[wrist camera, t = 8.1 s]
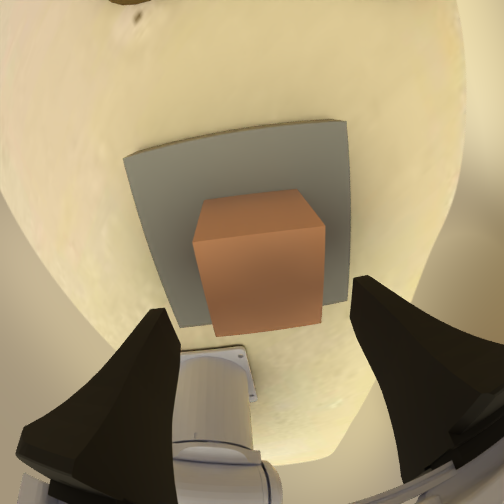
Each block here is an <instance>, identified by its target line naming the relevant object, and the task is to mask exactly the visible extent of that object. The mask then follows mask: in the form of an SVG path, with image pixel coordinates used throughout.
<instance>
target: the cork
mask: <svg viewBox="0 0 504 504" xmlns="http://www.w3.org/2000/svg"><path fill="white" fill-rule="evenodd" d="M109 1H111V2H112V3H116V4H120V5H133V4H139V3H142V2H146V1H150V0H109Z"/></svg>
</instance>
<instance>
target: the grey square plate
mask: <svg viewBox="0 0 504 504" xmlns="http://www.w3.org/2000/svg"><path fill="white" fill-rule="evenodd" d="M123 161H124V165H125V169H126V173H127V177H128V180H129V184H130V188H131V191H132V195H133V198H134V202H135V205H136V208H137V212H138V215H139V218H140V221H141V225H142V228H143V231H144V234H145V237H146V240H147V243H148V246H149V249H150V252H151V255H152V258H153V260H154V263H155V266H156V269H157V271H158V274H159V277H160V280H161V282H162V285H163V287H164V290H165V293H166V295H167V298H168V300H169V303H170V305H171V308H172V310H173V313H174V315H175V317H176V320H177V322H178V324H179V327H180V328H184V327H193V326H201V325H209V324H212V321H211V317H210V313H209V309H208V305H207V301H206V298H205V294H204V290H203V286H202V282H201V277H200V273H199V269H198V265H197V261H196V256H195V252H194V247H193V243H192V242H193V238H194V234H195V230H196V227H197V223H198V219H199V216H200V212H201V209H202V205H203V202H204V200H208V199H215V198H222V197H229V196H237V195H245V194H254V193H262V192H271V191H281V190H291V189H297V190H298V191H299V192H300V193H301V195H302V196H303V197H304V199H305V200H306V201H307V202H308V204H309V205H310V206H311V208H312V209H313V210H314V211H315V213H316V214H317V215H318V217H319V218H320V219H321V221H322V222H323V223H324V225H325V264H324V286H323V303H322V306H324V305H329V304H334V303H339V302H343V301H347V297H348V283H349V264H350V232H351V198H350V166H349V148H348V134H347V122H346V121H341V120H334V119H325V120H310V121H298V122H287V123H278V124H270V125H262V126H254V127H248V128H241V129H235V130H229V131H223V132H218V133H212V134H207V135H202V136H197V137H193V138H188V139H183V140H179V141H175V142H171V143H167V144H163V145H159V146H155V147H151V148H147V149H144V150H140V151H137V152H135V153H133V154H131V155H129V156H127V157H125V158H123Z"/></svg>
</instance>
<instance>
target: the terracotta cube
mask: <svg viewBox="0 0 504 504" xmlns="http://www.w3.org/2000/svg"><path fill="white" fill-rule="evenodd" d="M192 243H193V247H194V252H195V256H196V261H197V265H198V269H199V273H200V277H201V282H202V286H203V290H204V294H205V298H206V301H207V305H208V309H209V313H210V317H211V321H212V324H213V328H214V332H215V335H216V337H221V336H231V335H240V334H249V333H257V332H265V331H273V330H280V329H287V328H293V327H300V326H306V325H312V324H318V323H321V317H322V303H323V286H324V264H325V225H324V223H323V222H322V221H321V219H320V218H319V217H318V215H317V214H316V213H315V211H314V210H313V209H312V208H311V206H310V205H309V204H308V202H307V201H306V200H305V199H304V197H303V196H302V195H301V193H300V192H299V191H298V190H297V189H291V190H281V191H271V192H262V193H254V194H245V195H237V196H229V197H222V198H215V199H208V200H204V202H203V205H202V209H201V212H200V216H199V219H198V223H197V227H196V230H195V234H194V238H193V242H192Z"/></svg>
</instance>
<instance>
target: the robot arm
mask: <svg viewBox="0 0 504 504" xmlns="http://www.w3.org/2000/svg"><path fill="white" fill-rule="evenodd" d="M350 320H351V323H352V326H353V329H354V332H355V335H356V337H357V340H358V342H359V344H360V346H361V348H362V350H363V352H364V354H365V356H366V358H367V360H368V362H369V364H370V366H371V368H372V370H373V372H374V374H375V377H376V379H377V381H378V383H379V385H380V388H381V390H382V393H383V396H384V399H385V402H386V405H387V409H388V412H389V416H390V419H391V423H392V427H393V431H394V436H395V440H396V445H397V450H398V457H399V463H400V471H401V477H402V480H403V483H404V484H403V485H401V486H398V487H396V488H393V489H391V490H388V491H386V492H383V493H380V494H378V495H375V496H372V497H369V498H366V499H363V500H360V501H356V502H353V503H349V504H401V503H403V502H405V501H407V500H410V499H412V498H414V497H416V496H418V495H420V494H421V495H420V496H419V497H418V500H417V502H416V503H415V504H503V503H504V345H503V344H499V343H495V342H492V341H488V340H485V339H482V338H479V337H476V336H473V335H471V334H468V333H466V332H463V331H461V330H459V329H456V328H454V327H452V326H450V325H448V324H446V323H444V322H442V321H440V320H438V319H436V318H434V317H432V316H430V315H429V314H427V313H425V312H424V311H422V310H420V309H419V308H417V307H415V306H414V305H412V304H411V303H409V302H408V301H406V300H405V299H403V298H402V297H400V296H399V295H397V294H396V293H394V292H393V291H391V290H390V289H388V288H387V287H385V286H384V285H382V284H381V283H379V282H378V281H376V280H375V279H373V278H372V277H370V276H368V275H365V276H360V277H355V278H353V288H352V299H351V309H350ZM180 351H181V344H180V342H179V339H178V337H177V335H176V333H175V330H174V328H173V326H172V324H171V321H170V319H169V316H168V314H167V312H166V309H165V308H157V309H150V310H149V312H148V313H147V314H146V315H145V316H144V318H143V319H142V320H141V321H140V323H139V324H138V325H137V326H136V328H135V329H134V330H133V332H132V333H131V334H130V335H129V337H128V338H127V339H126V340H125V342H124V343H123V344H122V345H121V347H120V348H119V349H118V350H117V351H116V352H115V354H114V355H113V356H112V357H111V359H109V361H108V362H107V363H106V364H105V365H104V366H103V367H102V369H101V370H100V371H99V372H98V373H97V374H96V375H95V376H94V377H93V378H92V379H91V380H90V381H89V382H88V383H87V384H85V385H84V386H83V387H82V388H81V389H80V390H78V391H77V392H76V393H75V394H74V395H73V396H71V397H70V398H69V399H68V400H66V401H65V402H64V403H62V404H61V405H60V406H58V407H57V408H55V409H54V410H52V411H51V412H49V413H48V414H46V415H45V416H43V417H41V418H39V419H38V420H36V421H34V422H32V423H30V424H29V425H27V426H25V427H24V428H23V431H22V434H21V437H20V440H19V443H18V446H17V450H16V456H17V457H18V458H19V459H20V460H21V461H22V462H24V463H25V464H27V465H28V466H30V467H31V468H33V469H34V470H36V471H38V472H39V473H41V474H43V475H44V476H46V477H48V478H50V479H51V480H50V484H48V483H46V482H43V481H41V480H39V479H37V478H35V477H33V476H31V475H28V474H26V473H24V474H23V478H22V482H21V486H20V491H19V496H18V501H17V504H282V501H283V494H282V485H281V480H280V477H279V474H278V473H277V471H276V470H275V468H274V467H273V466H272V465H271V464H270V463H269V462H268V461H264V460H261V454H260V451H255V450H253V440H252V428H251V416H250V404H249V402H255V401H257V400H258V398H257V393H256V390H255V386H254V382H253V378H252V374H251V370H250V366H249V362H248V358H247V354H246V350H245V348H244V347H242V346H236V347H228V348H220V349H211V350H201V351H190V352H180ZM240 354H242V355H240ZM422 493H423V494H422Z"/></svg>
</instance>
